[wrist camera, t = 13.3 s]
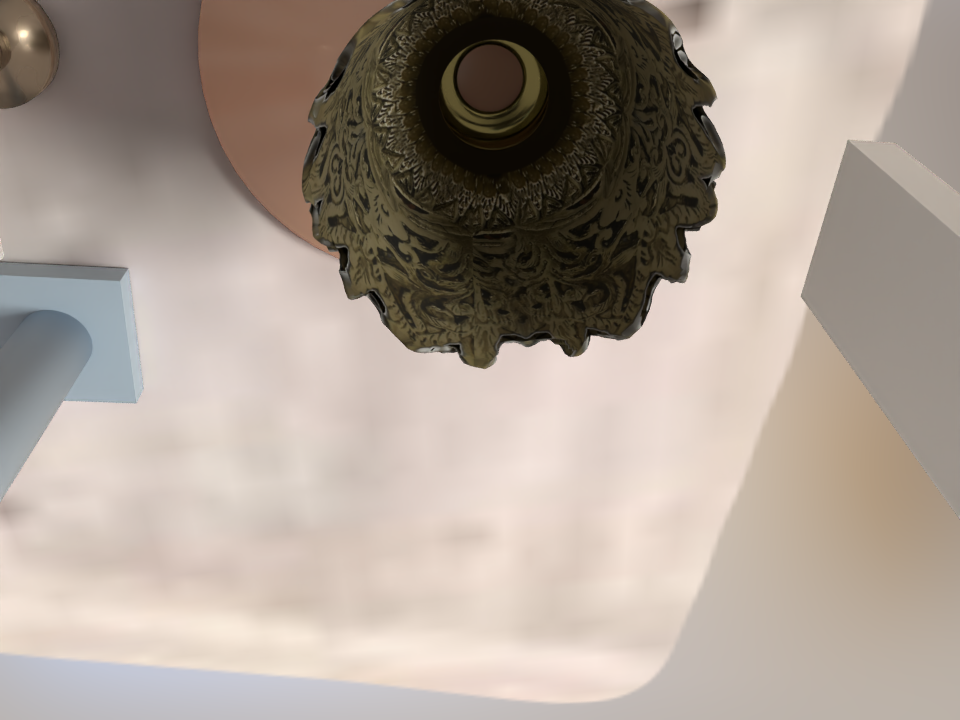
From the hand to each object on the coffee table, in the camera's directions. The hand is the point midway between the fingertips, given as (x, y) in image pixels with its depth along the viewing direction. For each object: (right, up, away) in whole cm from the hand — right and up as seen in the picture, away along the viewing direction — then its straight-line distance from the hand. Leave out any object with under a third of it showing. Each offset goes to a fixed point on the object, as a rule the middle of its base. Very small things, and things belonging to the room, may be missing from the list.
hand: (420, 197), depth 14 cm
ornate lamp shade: (+1, +5, +9) cm, 10 cm away
